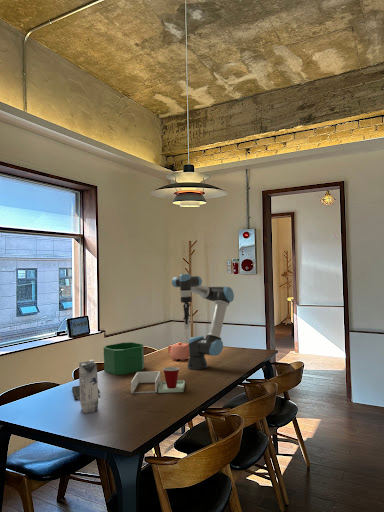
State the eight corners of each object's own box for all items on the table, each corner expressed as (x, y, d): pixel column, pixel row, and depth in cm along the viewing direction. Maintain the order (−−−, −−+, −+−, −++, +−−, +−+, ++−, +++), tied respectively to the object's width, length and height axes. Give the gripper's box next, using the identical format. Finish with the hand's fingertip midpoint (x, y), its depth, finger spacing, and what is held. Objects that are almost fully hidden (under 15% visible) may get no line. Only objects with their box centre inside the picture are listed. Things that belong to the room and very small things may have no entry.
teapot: (196, 358, 331) (195, 341, 331) (191, 361, 319) (190, 344, 319) (171, 357, 338) (170, 340, 338) (165, 361, 326) (165, 343, 326)
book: (72, 391, 255) (71, 386, 255) (95, 387, 260) (95, 383, 260) (75, 401, 234) (74, 396, 235) (100, 397, 240) (100, 392, 240)
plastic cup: (183, 385, 253) (182, 366, 253) (175, 390, 243) (174, 370, 244) (168, 383, 258) (168, 365, 258) (160, 388, 248) (159, 369, 249)
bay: (137, 382, 266) (137, 372, 266) (160, 381, 265) (160, 371, 266) (131, 393, 243) (130, 382, 243) (156, 392, 242) (156, 381, 243)
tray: (161, 384, 259) (160, 381, 260) (184, 383, 259) (184, 380, 259) (158, 392, 242) (157, 389, 242) (183, 391, 241) (183, 388, 242)
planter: (118, 376, 285) (117, 350, 286) (101, 370, 305) (100, 346, 305) (148, 369, 302) (147, 345, 303) (129, 363, 322) (129, 341, 322)
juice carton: (82, 414, 210) (80, 363, 211) (79, 408, 220) (78, 359, 221) (99, 411, 214) (97, 361, 214) (95, 405, 223) (94, 357, 224)
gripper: (181, 295, 285) (182, 325, 284) (179, 298, 260) (180, 330, 259) (191, 295, 284) (193, 324, 284) (190, 297, 259) (192, 330, 259)
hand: (187, 327), depth 271 cm, fingers open, 13 cm apart
